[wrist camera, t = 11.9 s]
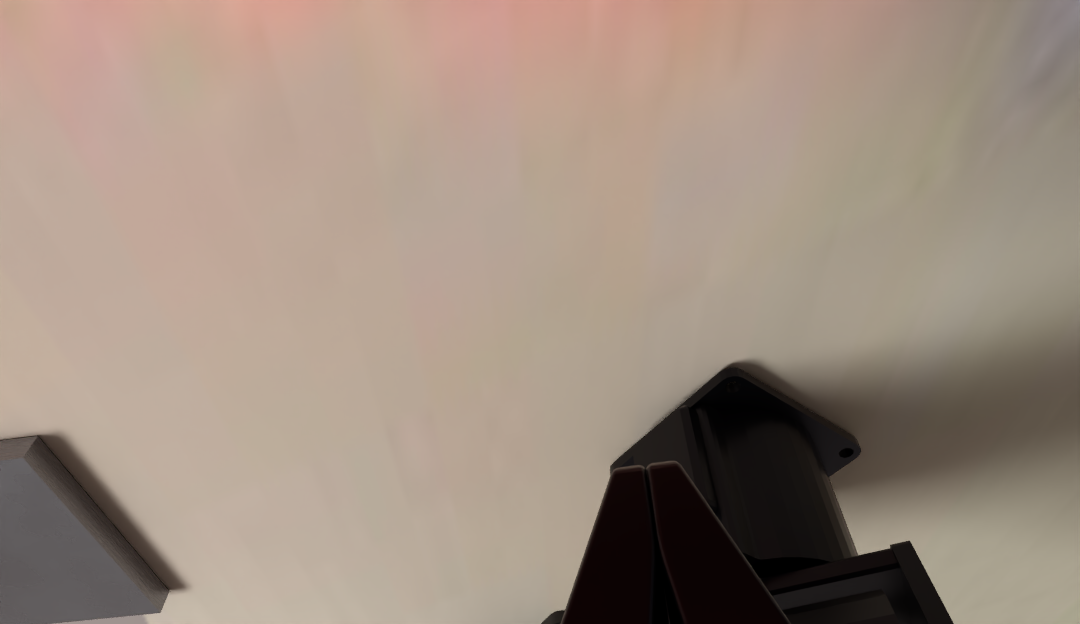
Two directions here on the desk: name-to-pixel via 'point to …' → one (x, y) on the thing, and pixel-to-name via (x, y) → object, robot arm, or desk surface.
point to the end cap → (554, 618)
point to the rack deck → (62, 547)
